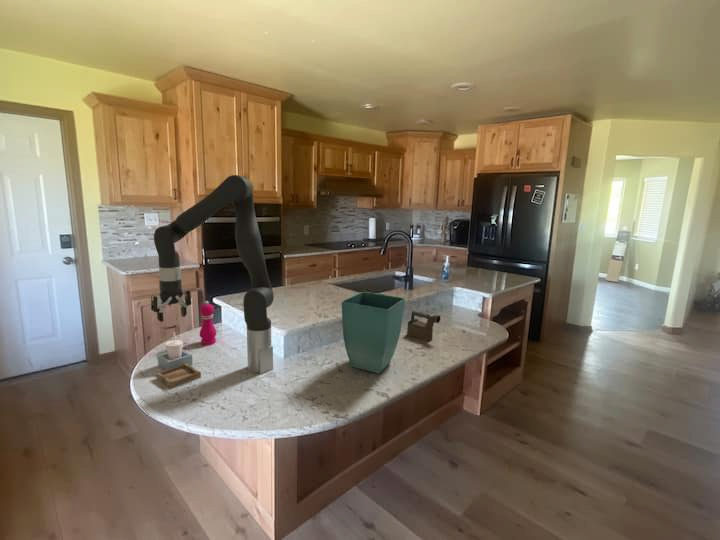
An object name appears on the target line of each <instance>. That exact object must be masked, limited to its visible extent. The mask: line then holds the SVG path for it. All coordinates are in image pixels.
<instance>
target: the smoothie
mask: <svg viewBox="0 0 720 540" xmlns="http://www.w3.org/2000/svg"><path fill="white" fill-rule="evenodd" d="M164 345H165V346H164V347H165V348H166V353H168V357H169V360H170V361H171V360H174V359H177V358H180V357H181V356H182V349H183V345H184V341H183V340H181V339H176V332H174V331H173V340H169V341H166V342H165V343H164Z"/></svg>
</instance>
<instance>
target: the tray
mask: <svg viewBox="0 0 720 540" xmlns="http://www.w3.org/2000/svg"><path fill="white" fill-rule="evenodd" d="M201 378H202V373H201V371H200V370H198V369H196V368H195V367H193V366H189V365H188V364H183V365H180V366H177V367H174V368H171V369H168V370H162V371H159V372H156V379H157V380H159V381H160V382H161V383H163V384H164V385H165V386H167V387H168V388H170V389H174V388H178V387H180V386H183V385H184V384H188V383H191V382H193V381H197V380H199V379H201Z"/></svg>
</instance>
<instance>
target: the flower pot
mask: <svg viewBox="0 0 720 540" xmlns="http://www.w3.org/2000/svg"><path fill="white" fill-rule="evenodd" d="M405 302H406V298H405V297H400V296H394V295H387V294H380V293H377V292H376V293H374V292H368V291H361V292H358V293H357V294H355V295H352V296H350V297H347V298H346V299H344V300H342V301H341V320H342V336H343V342H344V347H345V351H346V354H347V358H348V360H349V362H350V365H351V367H353V368H356V369H360V370H364V371H367V372H370V373H371V372H372V373H375V374H380V373H381V372H382V371H383V370H384V369H386V367H387V366H388V365H389V364H390V363H391V361H392V358H393V356H394V353H395V352H396V349H397V346H398V342H399V339H400V336H401V335H400V333H401V330H402V324H403V323H402V322H403V316H404V307H405Z"/></svg>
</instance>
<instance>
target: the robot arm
mask: <svg viewBox="0 0 720 540" xmlns="http://www.w3.org/2000/svg"><path fill="white" fill-rule="evenodd" d="M253 190H254V189H253V185H252V183H251V182H250V180H249V179H248V178H246V177H244V176H242V175H238V174H231V175H230V176H227V177H226V178H225V179H224V180H223V181H222V182H221V183H220V184H219V185H218V186H217V187H216V188H215V189H214V190H213V191H211V192H210V193H209V194H208V195H206V196H205V197H204V198H203V199H201V200H199V201H198V202H197V203H196V204H194V205H193V206H191V207H189V208H187V210H186V209H185V211H183V212H182V213H181V214H179V215H178V216H177V217H176V219H175V220H173V221H172V222H170V223H168V224H167V225H162V226H159V227H157V228H156V229H155V231H154V233H153V241H154V246H155V249H156V252H157V256H158V281H159V282H158V285H159V294H158V295H154V294H151V296H150V311H152V312H154V313H156V316H157V320H158V321H159V322H161V323H163V322H164V312H163V311H164V310H165V309H166V308H167V306H171V305H173V304H174V305H175V304H176V305H177V304H179V305H180V316H181V317H183V318H185V317H186V315H188V314H187V309H188V306H191V305H192V295H191V291H190V290H188V289H184V290H182V289H183V286H182V285H183V284H182V270H181V265H180V264H181V260H180V259H181V258H180V254H179V252H178V251H176V248H175V243H178V242H179V241H182V239H183V238H185V237H186V236H187V235H188V234H189V233H191V232H192V231H193V230H196V229H197V228H198V227H200V226H201V225H203V224H204V223H206V222H207V221H208V220H209V219H210V218H211V217H212V216H214V214H215V213H217V212H218V211H220V209H223V208H224V207H226V206H228V205H229V204H233V209H234V212H235V213H234V214H235V229H234V231H235V233H234V235H235V236H234V237H235V244H236V249H237V254H238V257H239V259H240V260H241V262H242V264H243V266H244V267H245V269H246V270H247V272H248V275H249V277H250V282H251V289H249V290H247V291H246V293H245V294H244V296H243V301H242V302H243V303H242V304H243V314H244V316H243V317H244V322H245V324H246V348H247V349H246V350H247V351H246V353H247V370H248V371H249V372H250V373H253V374H261V375H262V374H264V373H266V372H269V371H271V370H273V369H274V347H273V346H272V320H271V319H270V317H268V313H267V312H268V311H267V308H269V307H270V306H271V305H272V304H273V303H274V300H275V298H274V296H275V295H274V292H273V288H272V284H271V280H270V278H269V274H268V269H267V265H266V258H265V254H264V248H263V242H262V238H261V237H262V236H261V233H260V229H259V228H260V227H259V223H258V220H257V217H256V211H255V203H254V191H253ZM183 296H184V300H185V301H184V300H183V299H182V297H183ZM159 300H160V302H159ZM158 302H159V304H158Z"/></svg>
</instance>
